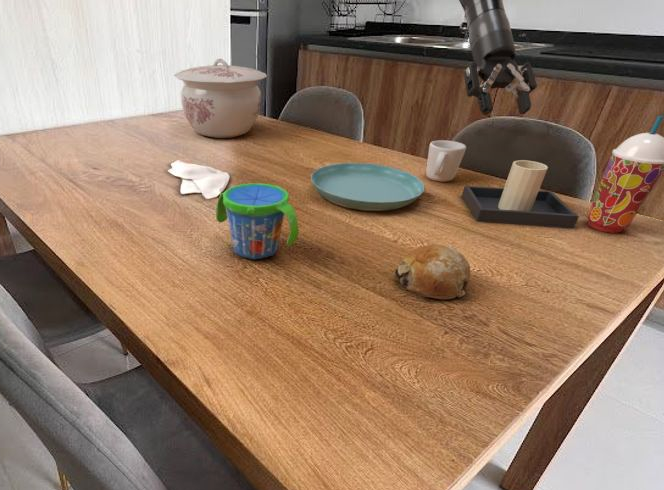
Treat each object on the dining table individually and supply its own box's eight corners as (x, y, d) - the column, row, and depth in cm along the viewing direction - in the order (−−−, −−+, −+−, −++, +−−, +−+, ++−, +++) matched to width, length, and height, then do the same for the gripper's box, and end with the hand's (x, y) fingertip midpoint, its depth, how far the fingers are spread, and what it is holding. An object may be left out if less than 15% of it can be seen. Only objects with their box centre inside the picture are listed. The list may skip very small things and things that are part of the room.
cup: (450, 190, 102) (460, 154, 98) (415, 183, 106) (423, 148, 101) (459, 177, 110) (469, 143, 105) (426, 171, 113) (434, 138, 109)
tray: (546, 202, 97) (551, 190, 95) (573, 228, 86) (579, 216, 85) (461, 196, 99) (464, 185, 98) (476, 221, 88) (480, 209, 87)
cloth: (244, 195, 99) (244, 185, 97) (182, 201, 95) (181, 191, 94) (215, 160, 119) (215, 152, 117) (164, 165, 116) (163, 156, 114)
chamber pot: (255, 147, 129) (256, 65, 117) (165, 141, 134) (158, 62, 122) (272, 125, 151) (275, 54, 139) (195, 120, 156) (191, 51, 144)
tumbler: (524, 204, 94) (541, 161, 89) (534, 215, 90) (552, 170, 84) (494, 202, 95) (509, 159, 90) (502, 213, 90) (518, 168, 85)
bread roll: (439, 325, 66) (480, 290, 61) (383, 283, 67) (417, 245, 62) (450, 294, 73) (487, 259, 68) (398, 256, 74) (431, 220, 69)
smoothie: (580, 214, 91) (630, 108, 80) (630, 224, 88) (690, 115, 76) (577, 229, 86) (631, 117, 74) (630, 240, 82) (696, 124, 70)
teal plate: (315, 215, 90) (316, 199, 88) (305, 175, 110) (306, 161, 108) (436, 217, 90) (440, 201, 88) (404, 177, 109) (407, 163, 107)
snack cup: (201, 245, 79) (199, 189, 73) (244, 227, 85) (244, 174, 79) (267, 278, 70) (270, 217, 64) (309, 256, 76) (315, 198, 70)
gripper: (471, 27, 89) (488, 101, 87) (534, 27, 91) (552, 100, 89) (449, 54, 96) (464, 124, 94) (508, 54, 99) (524, 122, 96)
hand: (507, 112), depth 92 cm, fingers open, 8 cm apart
